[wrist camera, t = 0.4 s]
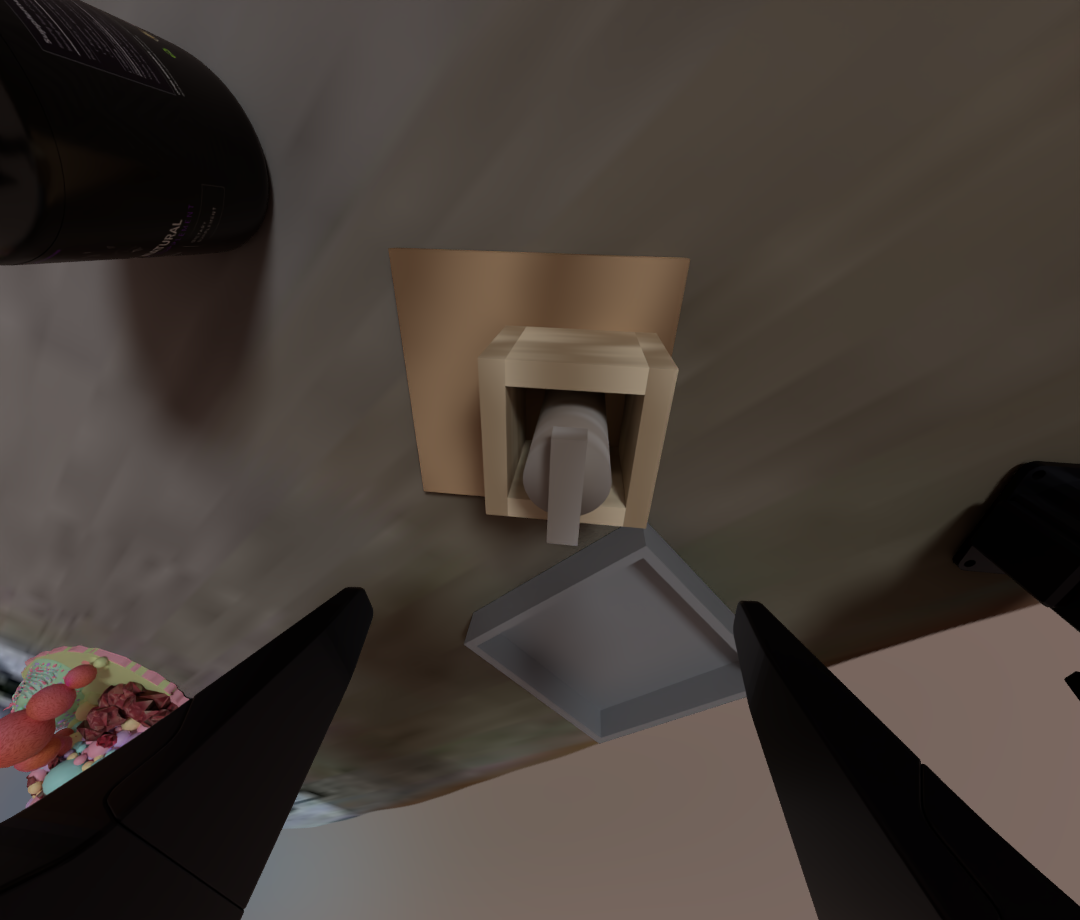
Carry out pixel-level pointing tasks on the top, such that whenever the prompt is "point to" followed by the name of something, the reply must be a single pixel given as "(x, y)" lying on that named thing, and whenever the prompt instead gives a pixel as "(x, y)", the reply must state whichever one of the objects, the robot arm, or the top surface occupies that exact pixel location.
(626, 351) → the hollow wooden box
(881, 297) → the top surface
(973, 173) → the top surface
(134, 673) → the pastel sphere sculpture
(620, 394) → the stake block
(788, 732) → the robot arm
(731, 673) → the slate tray
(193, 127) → the supplement bottle
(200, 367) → the top surface
